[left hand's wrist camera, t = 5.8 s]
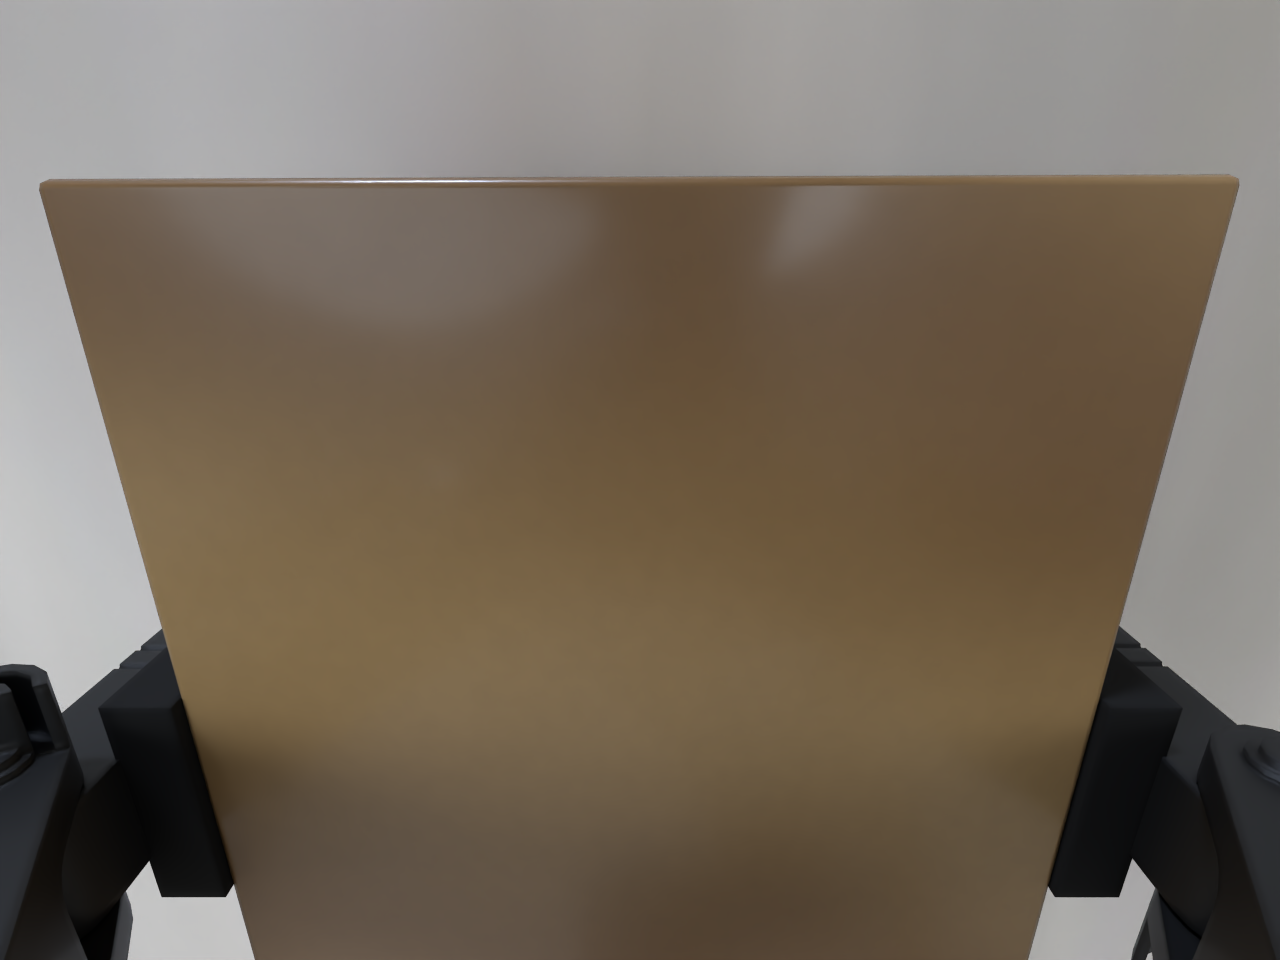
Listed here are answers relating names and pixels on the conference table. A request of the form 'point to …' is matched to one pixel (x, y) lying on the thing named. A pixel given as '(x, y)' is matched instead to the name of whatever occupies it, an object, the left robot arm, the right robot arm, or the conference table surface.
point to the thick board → (640, 539)
